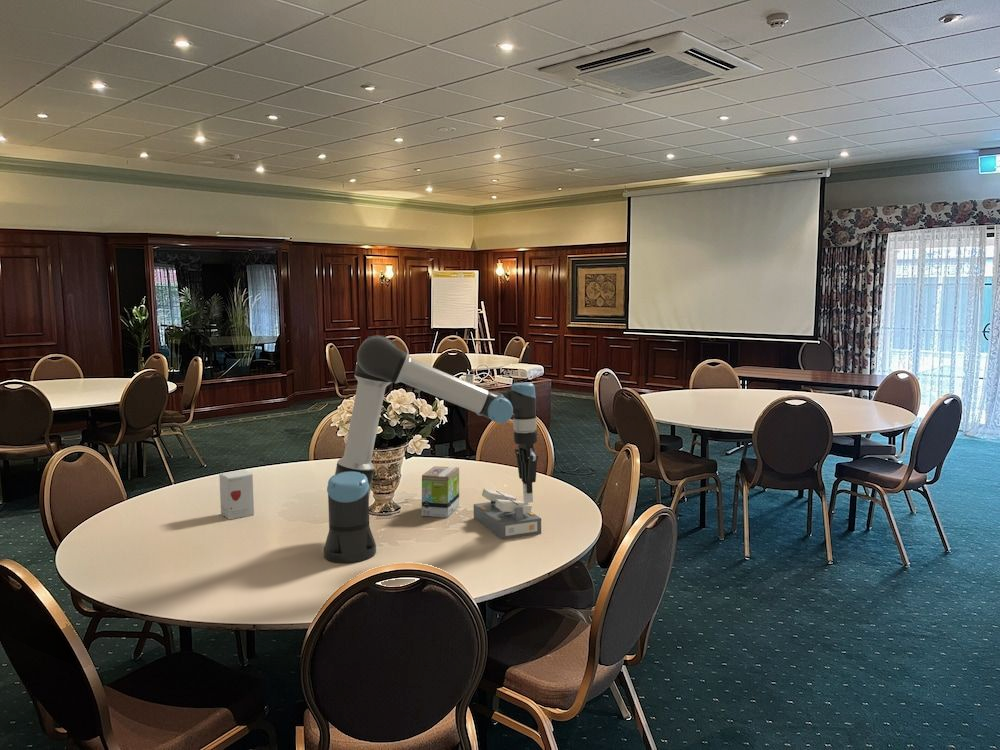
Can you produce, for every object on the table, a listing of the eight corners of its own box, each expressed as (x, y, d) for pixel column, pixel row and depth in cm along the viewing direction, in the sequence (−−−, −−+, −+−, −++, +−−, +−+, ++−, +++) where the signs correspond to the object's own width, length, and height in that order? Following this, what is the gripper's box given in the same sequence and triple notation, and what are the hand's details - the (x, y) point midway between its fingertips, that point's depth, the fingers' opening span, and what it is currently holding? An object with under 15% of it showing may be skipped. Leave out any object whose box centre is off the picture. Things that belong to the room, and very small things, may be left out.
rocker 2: (502, 511, 219) (503, 503, 219) (495, 506, 225) (496, 498, 225) (530, 513, 223) (531, 505, 223) (522, 508, 229) (524, 500, 229)
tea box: (449, 518, 239) (448, 476, 238) (421, 516, 241) (420, 475, 240) (460, 505, 254) (459, 466, 252) (433, 504, 256) (433, 465, 254)
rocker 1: (488, 499, 230) (490, 492, 230) (481, 495, 236) (483, 488, 236) (514, 505, 234) (516, 498, 234) (507, 500, 240) (509, 493, 240)
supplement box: (228, 520, 239) (226, 477, 238) (220, 514, 246) (218, 473, 244) (255, 515, 245) (253, 473, 243) (246, 509, 252) (244, 469, 250)
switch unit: (501, 539, 216) (501, 512, 215) (473, 518, 238) (473, 493, 238) (541, 533, 222) (541, 506, 221) (511, 513, 244) (510, 488, 243)
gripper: (544, 432, 219) (547, 505, 221) (527, 426, 231) (530, 495, 233) (523, 435, 216) (526, 509, 218) (506, 428, 228) (509, 498, 230)
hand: (528, 501), depth 226 cm, fingers closed
